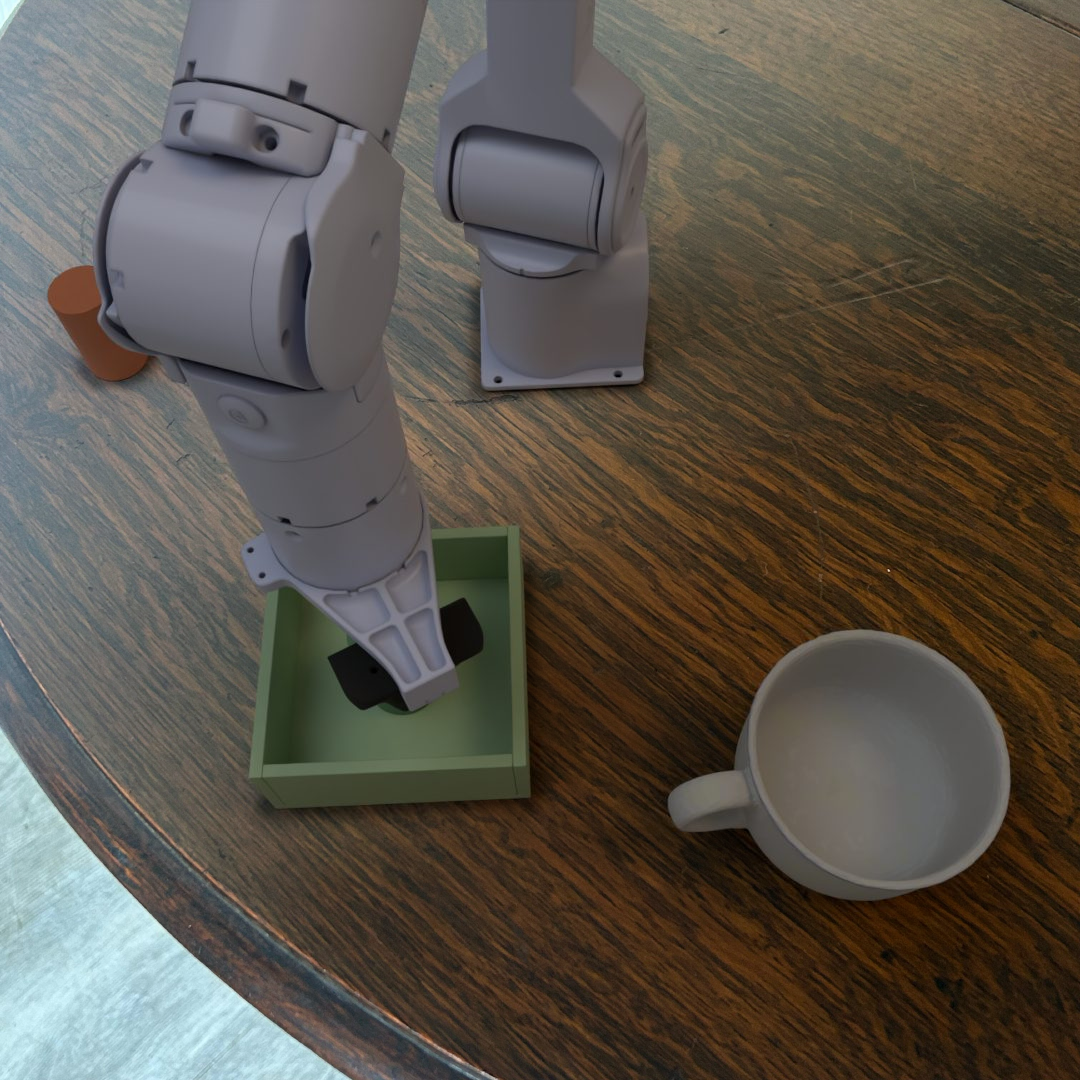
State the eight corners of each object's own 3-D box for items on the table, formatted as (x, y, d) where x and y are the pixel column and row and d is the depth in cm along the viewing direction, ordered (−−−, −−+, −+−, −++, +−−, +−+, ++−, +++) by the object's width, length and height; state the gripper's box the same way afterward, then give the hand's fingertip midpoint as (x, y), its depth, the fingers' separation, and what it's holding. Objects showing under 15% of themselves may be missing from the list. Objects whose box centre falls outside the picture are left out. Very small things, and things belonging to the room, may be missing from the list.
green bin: (523, 571, 57) (519, 524, 53) (530, 798, 51) (526, 765, 47) (294, 582, 58) (271, 535, 53) (275, 809, 52) (247, 778, 47)
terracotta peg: (152, 332, 66) (116, 263, 61) (144, 379, 65) (106, 312, 59) (94, 335, 66) (53, 266, 61) (84, 382, 65) (41, 315, 59)
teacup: (928, 690, 54) (980, 622, 47) (979, 918, 48) (1047, 880, 41) (647, 702, 54) (657, 636, 47) (667, 931, 48) (682, 895, 41)
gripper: (142, 354, 39) (243, 539, 51) (292, 685, 32) (368, 808, 44) (323, 281, 40) (380, 477, 52) (500, 583, 34) (520, 729, 46)
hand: (384, 624), depth 48 cm, fingers open, 7 cm apart
